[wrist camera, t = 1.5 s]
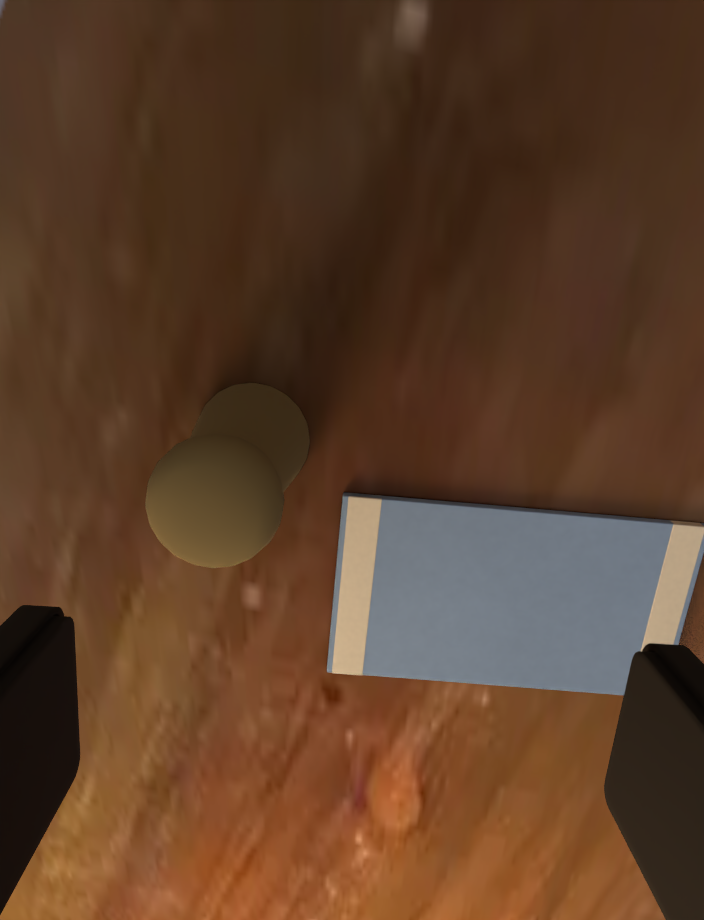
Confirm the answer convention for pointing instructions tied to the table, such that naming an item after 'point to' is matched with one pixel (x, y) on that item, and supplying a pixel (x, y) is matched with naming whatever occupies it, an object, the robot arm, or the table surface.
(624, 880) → the table surface
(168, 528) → the olive tall tapered piece
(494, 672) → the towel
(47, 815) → the robot arm
